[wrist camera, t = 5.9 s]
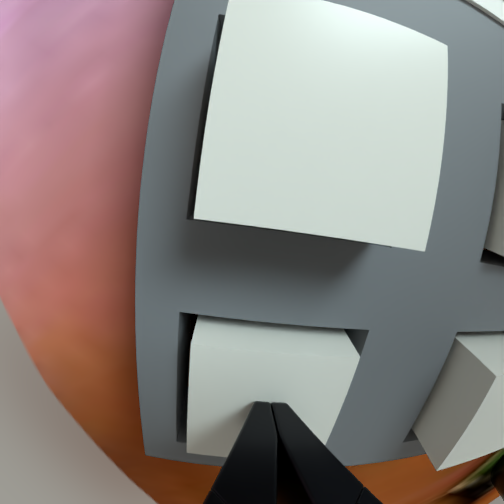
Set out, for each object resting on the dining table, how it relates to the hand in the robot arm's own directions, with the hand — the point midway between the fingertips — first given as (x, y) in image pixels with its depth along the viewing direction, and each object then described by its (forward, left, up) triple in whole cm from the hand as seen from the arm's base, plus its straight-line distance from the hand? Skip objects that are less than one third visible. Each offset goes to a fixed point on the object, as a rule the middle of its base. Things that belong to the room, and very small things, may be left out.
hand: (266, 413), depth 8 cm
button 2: (0, 0, -3) cm, 3 cm away
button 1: (0, -7, -2) cm, 7 cm away
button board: (-4, -9, -4) cm, 11 cm away
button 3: (-8, 0, -2) cm, 8 cm away
